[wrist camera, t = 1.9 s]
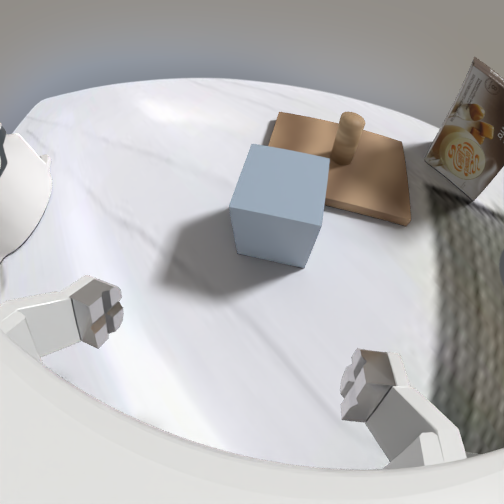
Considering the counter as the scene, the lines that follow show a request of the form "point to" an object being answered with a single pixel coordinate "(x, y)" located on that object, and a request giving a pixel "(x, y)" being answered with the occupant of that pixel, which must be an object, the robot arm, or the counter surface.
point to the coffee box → (472, 132)
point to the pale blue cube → (279, 204)
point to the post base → (352, 163)
